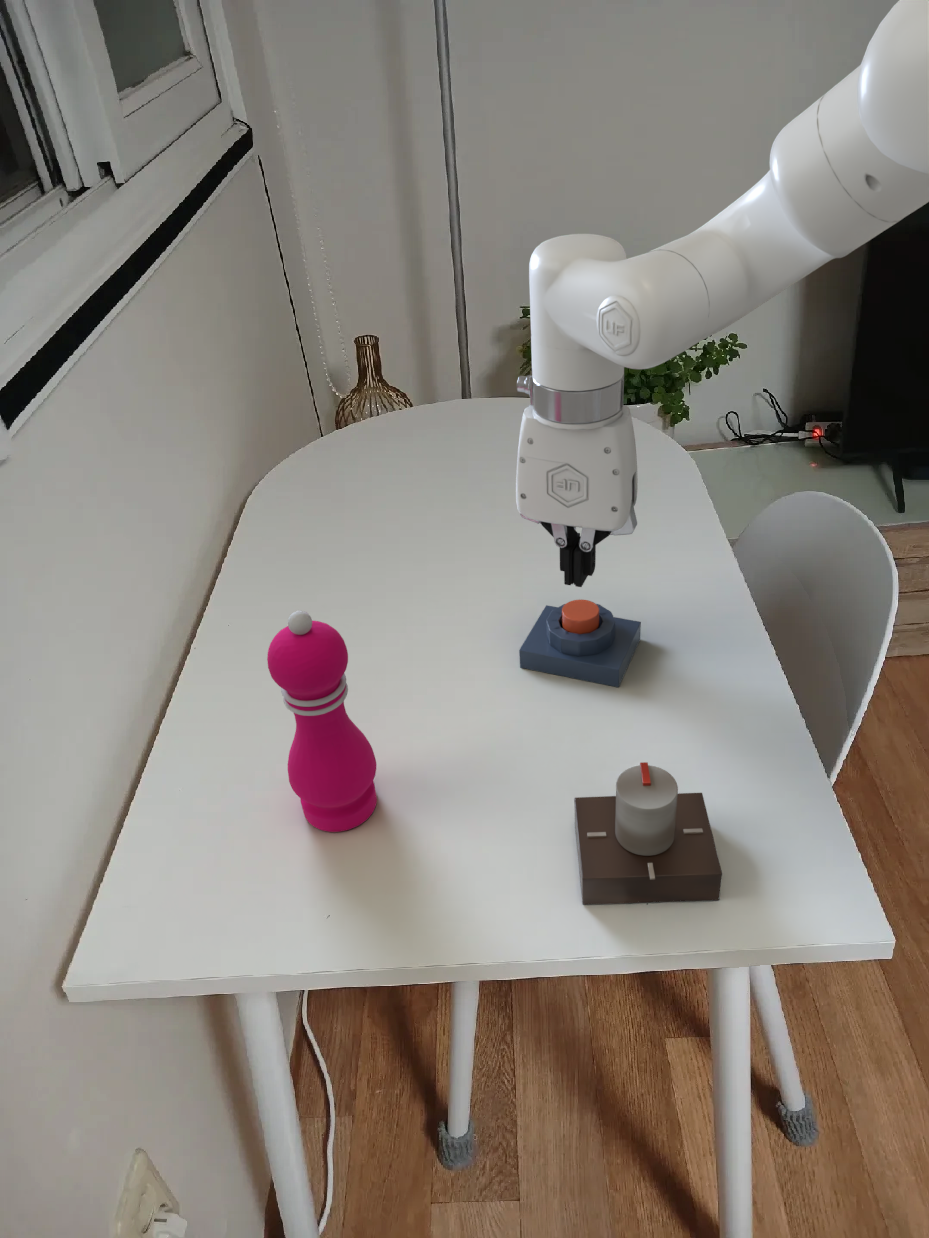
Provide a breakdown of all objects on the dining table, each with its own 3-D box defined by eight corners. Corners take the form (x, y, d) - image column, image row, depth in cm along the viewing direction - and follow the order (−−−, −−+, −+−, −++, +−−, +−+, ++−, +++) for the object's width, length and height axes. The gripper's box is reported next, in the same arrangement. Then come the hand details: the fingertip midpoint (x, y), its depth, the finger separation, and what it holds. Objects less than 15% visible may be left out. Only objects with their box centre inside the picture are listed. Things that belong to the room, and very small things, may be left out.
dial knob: (678, 855, 70) (682, 805, 67) (617, 856, 70) (618, 806, 67) (670, 810, 73) (673, 761, 70) (612, 811, 74) (613, 762, 71)
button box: (640, 639, 96) (641, 606, 94) (618, 687, 90) (619, 654, 88) (546, 622, 100) (545, 590, 97) (519, 667, 94) (518, 635, 92)
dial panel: (698, 815, 77) (701, 787, 75) (720, 903, 70) (723, 875, 68) (574, 820, 77) (573, 792, 75) (582, 908, 70) (582, 880, 68)
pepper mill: (303, 847, 77) (252, 652, 66) (293, 786, 83) (244, 597, 71) (390, 824, 78) (355, 629, 67) (374, 766, 84) (339, 577, 73)
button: (603, 617, 94) (603, 602, 93) (593, 638, 91) (593, 623, 90) (568, 610, 95) (568, 596, 94) (557, 631, 92) (556, 617, 91)
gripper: (477, 404, 79) (489, 586, 90) (655, 423, 74) (645, 614, 85) (510, 370, 85) (517, 546, 95) (677, 386, 79) (665, 570, 90)
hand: (577, 577), depth 90 cm, fingers closed
